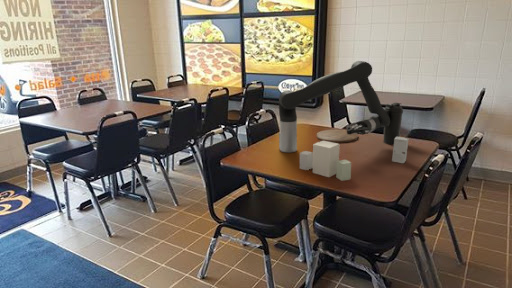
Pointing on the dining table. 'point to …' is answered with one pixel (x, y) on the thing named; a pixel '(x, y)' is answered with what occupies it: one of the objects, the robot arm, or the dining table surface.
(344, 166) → the sage block
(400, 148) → the skincare box
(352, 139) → the trivet
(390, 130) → the water bottle
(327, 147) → the cream box with panel
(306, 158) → the grey block
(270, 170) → the dining table surface
